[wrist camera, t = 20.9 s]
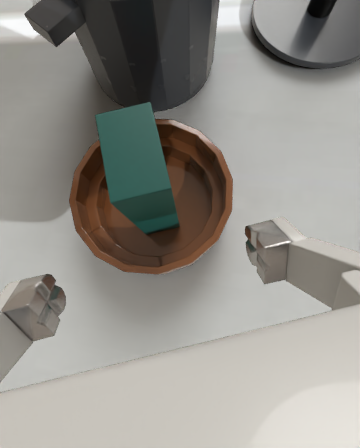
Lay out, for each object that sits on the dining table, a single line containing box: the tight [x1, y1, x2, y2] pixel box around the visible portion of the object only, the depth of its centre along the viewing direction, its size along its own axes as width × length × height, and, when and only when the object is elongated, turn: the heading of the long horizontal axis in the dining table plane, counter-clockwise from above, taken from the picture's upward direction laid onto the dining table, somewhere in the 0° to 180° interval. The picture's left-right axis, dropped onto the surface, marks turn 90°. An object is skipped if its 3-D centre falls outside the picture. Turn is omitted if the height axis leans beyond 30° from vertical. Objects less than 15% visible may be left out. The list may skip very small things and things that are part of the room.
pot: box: [24, 0, 219, 111], centre depth 19 cm, size 12×18×10 cm
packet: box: [95, 102, 180, 235], centre depth 15 cm, size 3×5×9 cm, turn 13°
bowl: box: [69, 119, 233, 274], centre depth 18 cm, size 12×12×4 cm
